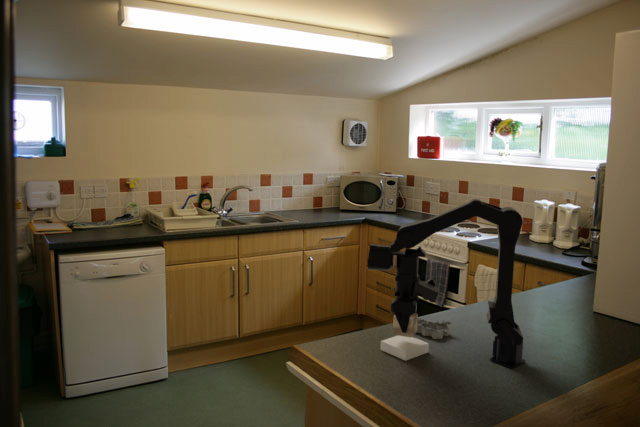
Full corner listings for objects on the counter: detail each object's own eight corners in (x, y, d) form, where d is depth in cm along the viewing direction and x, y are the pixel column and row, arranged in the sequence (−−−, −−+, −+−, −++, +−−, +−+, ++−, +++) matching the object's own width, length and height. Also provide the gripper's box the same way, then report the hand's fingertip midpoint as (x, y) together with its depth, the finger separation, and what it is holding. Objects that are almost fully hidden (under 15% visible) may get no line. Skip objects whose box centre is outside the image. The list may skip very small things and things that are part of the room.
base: (428, 352, 143) (428, 343, 143) (405, 360, 138) (405, 351, 137) (403, 342, 150) (403, 333, 150) (380, 349, 145) (380, 340, 144)
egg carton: (452, 335, 157) (452, 322, 156) (437, 341, 152) (438, 327, 151) (422, 325, 164) (422, 313, 164) (407, 331, 159) (407, 318, 159)
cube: (411, 337, 140) (411, 319, 139) (392, 334, 142) (393, 316, 142) (417, 331, 144) (417, 313, 144) (399, 328, 147) (399, 310, 146)
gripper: (437, 283, 130) (435, 344, 132) (439, 265, 148) (437, 319, 150) (391, 280, 133) (389, 340, 135) (398, 263, 151) (397, 316, 153)
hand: (405, 328), depth 143 cm, fingers closed on cube, 6 cm apart
